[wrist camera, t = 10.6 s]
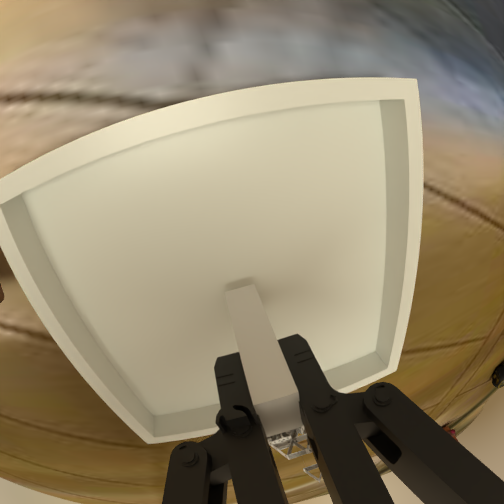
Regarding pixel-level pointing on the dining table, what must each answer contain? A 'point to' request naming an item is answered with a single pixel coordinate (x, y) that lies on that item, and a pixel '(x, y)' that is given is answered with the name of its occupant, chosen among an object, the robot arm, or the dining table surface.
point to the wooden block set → (1, 294)
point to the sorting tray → (224, 240)
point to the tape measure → (498, 377)
